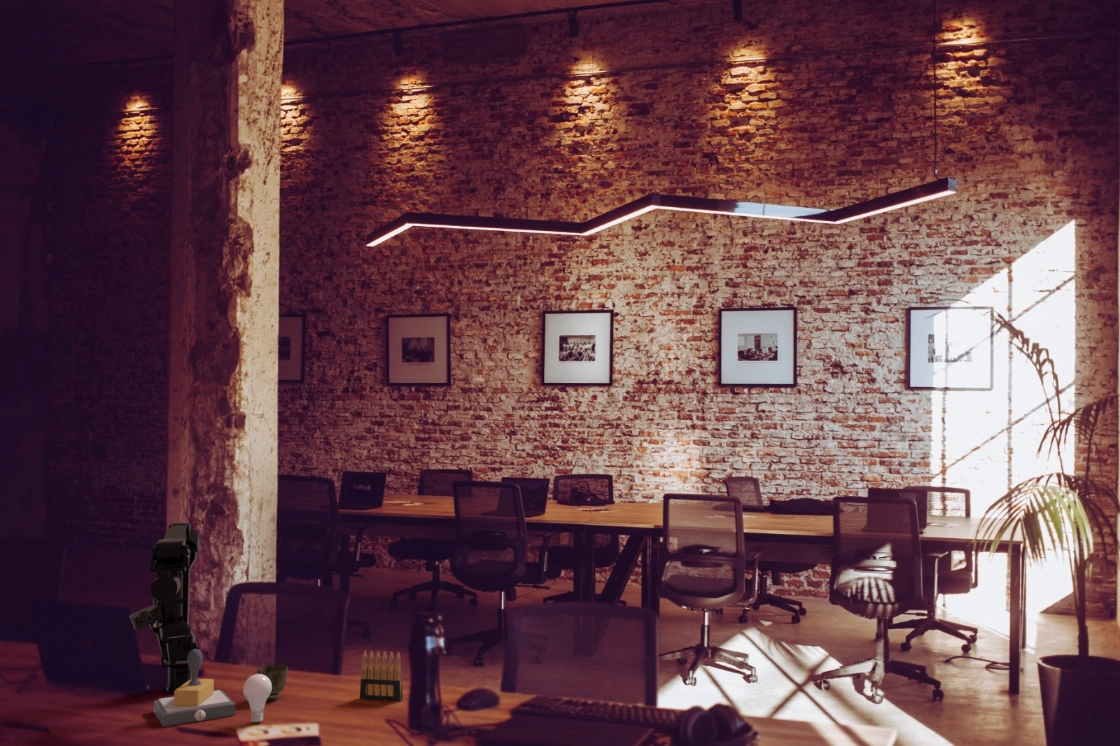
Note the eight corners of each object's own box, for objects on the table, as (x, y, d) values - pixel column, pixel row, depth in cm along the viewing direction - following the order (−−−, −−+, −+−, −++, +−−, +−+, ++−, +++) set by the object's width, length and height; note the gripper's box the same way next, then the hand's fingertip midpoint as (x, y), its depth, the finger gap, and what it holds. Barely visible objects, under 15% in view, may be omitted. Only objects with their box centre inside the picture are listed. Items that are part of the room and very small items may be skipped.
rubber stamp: (198, 706, 222) (198, 654, 223) (173, 706, 222) (174, 654, 223) (214, 694, 232) (214, 644, 232) (190, 694, 232) (191, 644, 233)
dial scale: (153, 712, 228) (153, 698, 228) (222, 701, 236) (222, 688, 237) (163, 727, 216) (163, 713, 217) (235, 715, 225) (235, 702, 225)
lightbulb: (245, 728, 215) (245, 679, 216) (240, 720, 221) (241, 672, 222) (273, 724, 218) (274, 675, 219) (268, 716, 224) (269, 669, 225)
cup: (292, 695, 242) (292, 663, 242) (280, 703, 234) (281, 670, 235) (263, 694, 242) (264, 662, 243) (251, 703, 235) (252, 670, 236)
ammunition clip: (359, 699, 238) (359, 651, 238) (362, 697, 240) (362, 649, 240) (400, 701, 236) (400, 652, 237) (402, 699, 238) (403, 650, 238)
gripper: (126, 591, 229) (125, 657, 228) (139, 604, 214) (138, 674, 213) (175, 587, 235) (174, 651, 234) (191, 598, 220) (190, 667, 219)
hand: (168, 660), depth 225 cm, fingers open, 9 cm apart
